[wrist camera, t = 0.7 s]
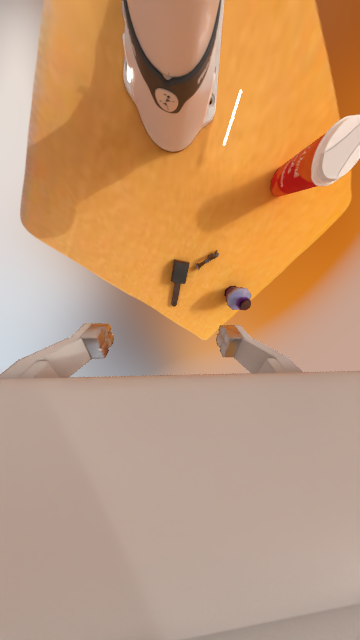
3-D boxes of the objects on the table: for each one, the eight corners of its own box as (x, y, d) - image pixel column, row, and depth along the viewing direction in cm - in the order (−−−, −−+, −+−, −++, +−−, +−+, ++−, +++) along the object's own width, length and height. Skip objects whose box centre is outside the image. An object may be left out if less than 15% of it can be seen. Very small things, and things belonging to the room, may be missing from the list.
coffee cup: (287, 148, 32) (366, 89, 19) (303, 176, 34) (380, 142, 22) (259, 186, 35) (309, 158, 22) (276, 209, 38) (328, 196, 25)
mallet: (174, 259, 43) (174, 260, 40) (188, 262, 44) (190, 263, 41) (167, 304, 52) (167, 307, 49) (179, 305, 53) (180, 309, 50)
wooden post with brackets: (221, 251, 42) (220, 257, 39) (200, 264, 47) (198, 270, 44) (218, 246, 41) (217, 252, 38) (197, 260, 46) (195, 266, 43)
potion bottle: (234, 304, 55) (248, 320, 44) (216, 298, 52) (227, 313, 42) (246, 286, 50) (265, 298, 40) (228, 278, 48) (243, 289, 38)
